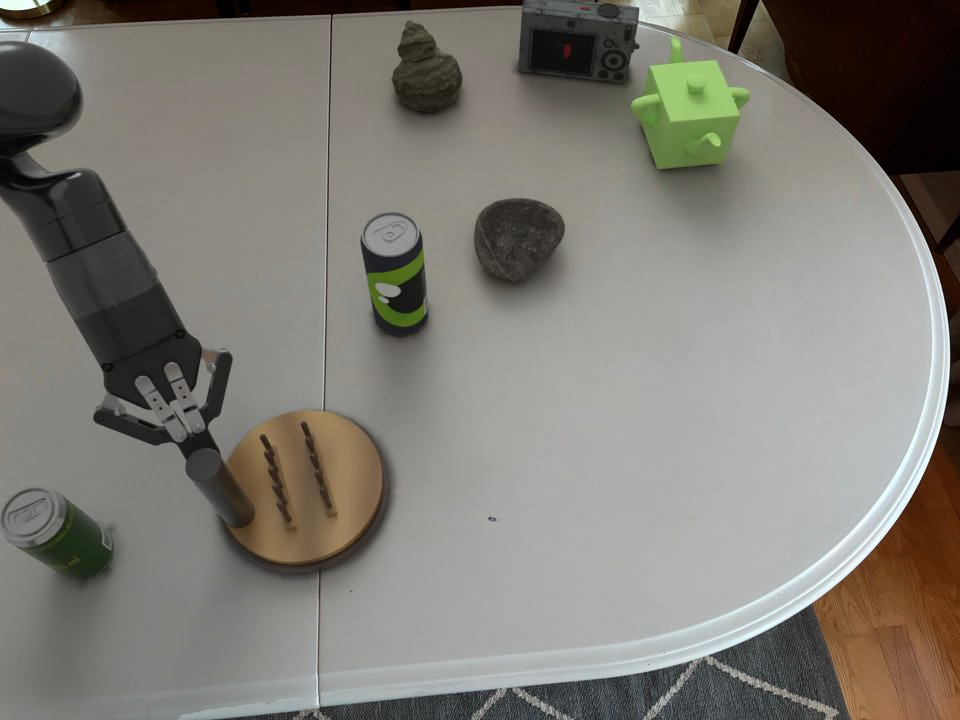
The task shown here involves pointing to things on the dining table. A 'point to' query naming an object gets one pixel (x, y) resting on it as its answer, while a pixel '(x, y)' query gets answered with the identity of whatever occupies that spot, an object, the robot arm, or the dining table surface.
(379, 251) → the beverage can
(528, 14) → the camera
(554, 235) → the stone
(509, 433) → the dining table surface
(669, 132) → the teapot
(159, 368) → the robot arm
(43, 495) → the beer can
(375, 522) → the base
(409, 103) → the seashell
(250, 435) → the dish rack
